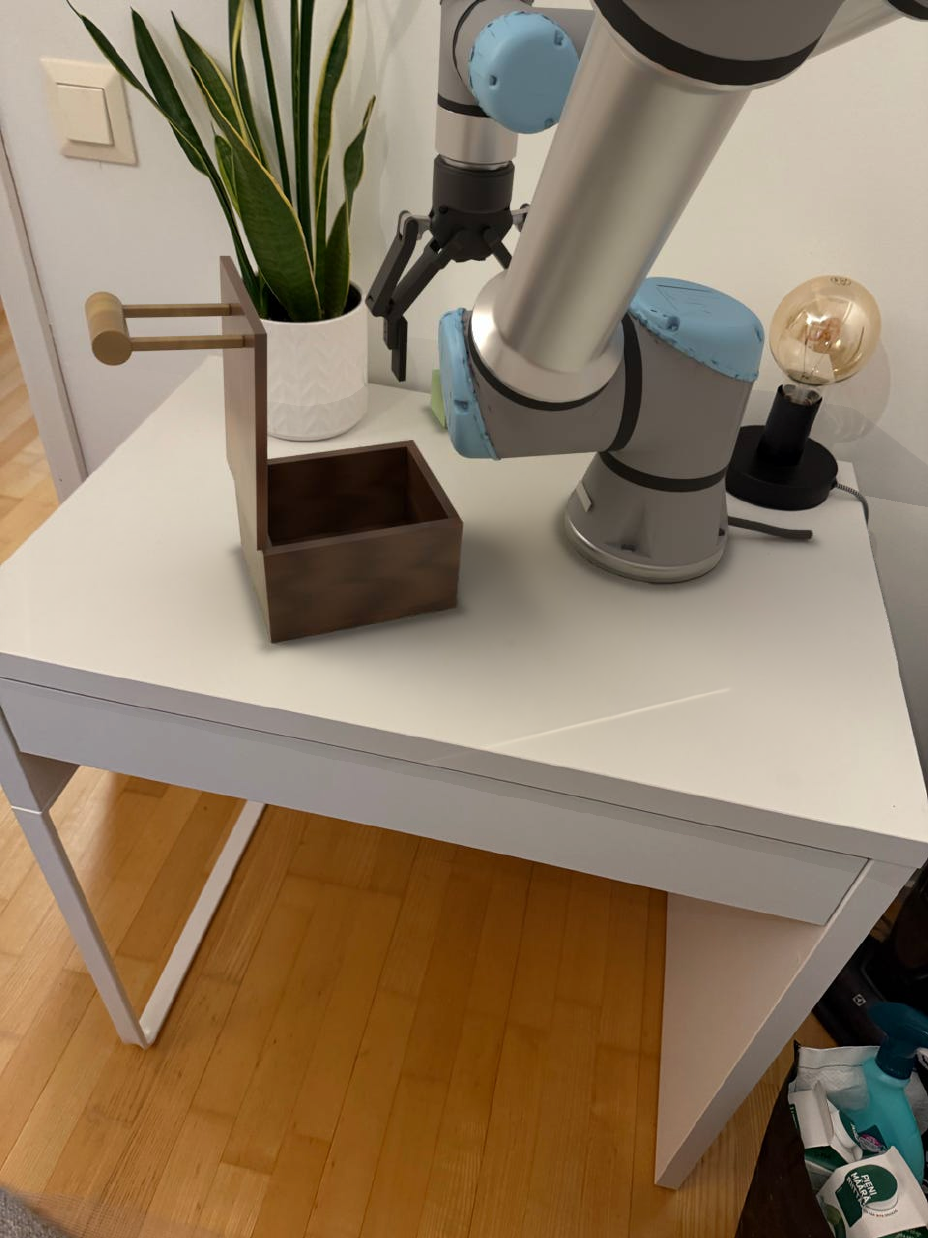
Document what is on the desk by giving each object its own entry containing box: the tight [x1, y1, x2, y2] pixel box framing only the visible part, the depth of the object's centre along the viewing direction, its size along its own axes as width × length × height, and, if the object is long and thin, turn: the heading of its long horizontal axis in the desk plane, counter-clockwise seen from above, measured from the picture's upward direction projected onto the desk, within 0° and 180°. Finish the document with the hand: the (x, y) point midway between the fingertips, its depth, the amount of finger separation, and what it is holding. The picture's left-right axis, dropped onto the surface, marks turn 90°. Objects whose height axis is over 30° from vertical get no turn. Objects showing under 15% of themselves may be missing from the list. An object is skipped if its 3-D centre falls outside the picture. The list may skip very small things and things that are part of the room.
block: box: [429, 368, 448, 429], centre depth 102 cm, size 5×5×5 cm
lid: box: [84, 255, 268, 551], centre depth 66 cm, size 17×13×10 cm
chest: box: [233, 439, 464, 644], centre depth 78 cm, size 16×13×9 cm
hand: (459, 369), depth 100 cm, fingers open, 13 cm apart
